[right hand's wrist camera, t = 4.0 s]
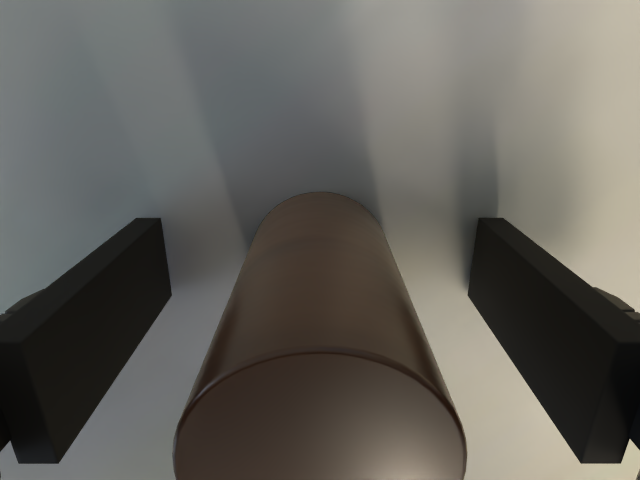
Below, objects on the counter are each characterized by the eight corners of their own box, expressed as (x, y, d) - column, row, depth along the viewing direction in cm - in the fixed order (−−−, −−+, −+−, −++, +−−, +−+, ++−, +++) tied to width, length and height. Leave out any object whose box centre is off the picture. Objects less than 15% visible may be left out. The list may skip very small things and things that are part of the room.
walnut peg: (383, 315, 14) (450, 568, 7) (256, 315, 14) (188, 568, 7) (391, 191, 13) (489, 348, 5) (248, 191, 13) (150, 348, 5)
